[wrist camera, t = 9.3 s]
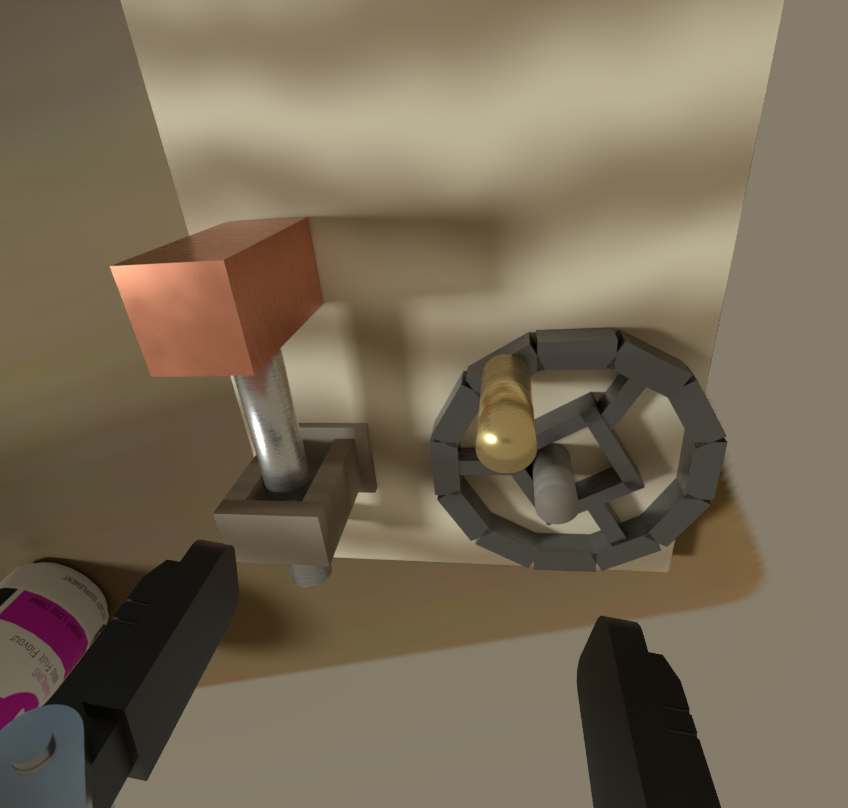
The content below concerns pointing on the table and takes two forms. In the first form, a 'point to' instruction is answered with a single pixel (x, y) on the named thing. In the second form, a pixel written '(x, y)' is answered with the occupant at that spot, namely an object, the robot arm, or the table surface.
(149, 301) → the copper cube on rod
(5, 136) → the table surface
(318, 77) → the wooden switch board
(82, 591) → the supplement can
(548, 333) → the handwheel
